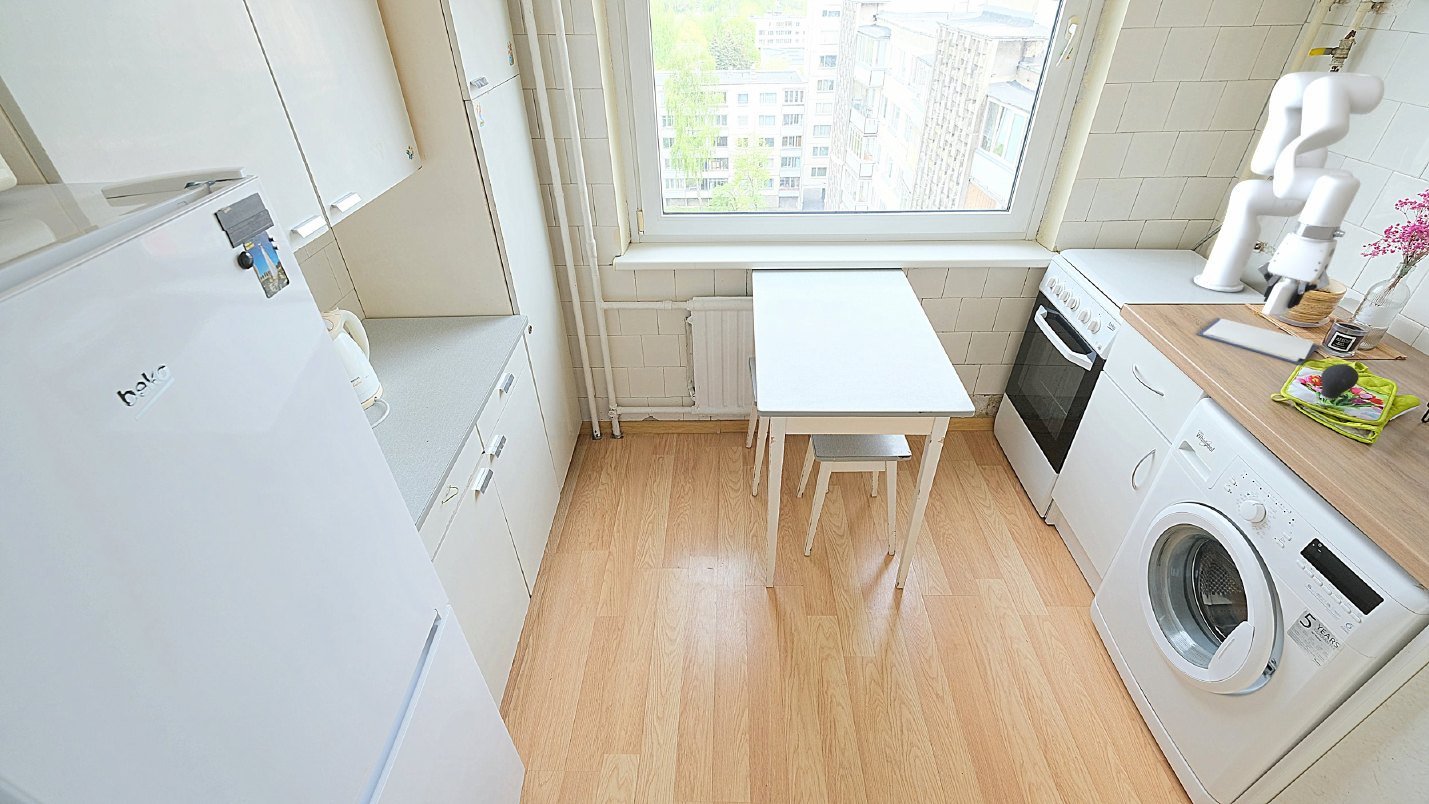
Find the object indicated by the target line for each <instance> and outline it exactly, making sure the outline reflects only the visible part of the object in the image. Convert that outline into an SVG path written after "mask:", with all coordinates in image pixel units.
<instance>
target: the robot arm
mask: <svg viewBox="0 0 1429 804" xmlns="http://www.w3.org/2000/svg"><path fill="white" fill-rule="evenodd" d="M1384 94H1385V83H1384V80H1383V79H1382V78H1381V77H1380V76H1377V75H1373V74H1368V73H1364V72H1350V71H1349V72H1347V71H1314V70H1313V71H1310V70H1309V71H1296V72H1291V73H1287V74H1285V75H1283V76H1282V77H1280V78H1279V79H1278V81H1276V84H1275V85H1274V87H1273V89H1272V91H1271V94H1270V99H1269V107H1268V119H1267V122H1266V124H1265V126H1264V130H1263V132H1262V135H1261V138H1260V139H1259V142H1258V144H1257V146H1256V149H1255V152H1254V154H1253V157H1252V159H1251V163H1250V170H1251V171H1252V173H1254V174H1257V175H1261V176H1271V177H1273V179H1259V178H1258V179H1256V178H1255V179H1247V180H1243V181H1240V182H1239V183H1237V184H1236V185H1235V186H1234V188H1233V189H1232V191H1231V194H1230V197H1229V201H1228V202H1229V204H1228V207H1227V209H1226V210H1227V211H1226V214H1225V217H1224V220H1223V223H1222V225H1221V228H1220V229H1219V230H1220V231H1219V232H1218V235H1217V238H1216V240H1215V242H1214V245H1213V247H1212V250H1211V252H1210V254H1209V257H1208V260H1207V262H1206V263H1205V264H1206V265H1205V267H1204V269H1203V272H1202V274H1198V275H1195V276H1194V278H1193V282H1194V283H1195V284H1196V285H1198V286H1200V287H1202V288H1205V289H1207V290H1212V291H1216V292H1217V291H1218V292H1224V293H1236V292H1241V291H1242V290H1243V289H1244V287H1245V286H1244V284H1243V282H1241V281H1240V280H1241V279H1242V276H1243V273H1244V272H1245V269H1246V267H1247V266H1248V262H1249V260H1250V258H1251V256H1252V253H1253V251H1254V249H1255V248H1256V244H1257V243H1258V240H1259V238H1260V235H1261V233H1262V227H1261V224H1260V222H1259V221H1258V218H1257V217H1258V216H1269V217H1281V218H1292V217H1295V216H1298V215H1299V214H1300V216H1299V218H1298V220H1297V222H1296V223H1295V225H1294V228H1293V230H1292V231H1290V232H1288V234H1286V236H1285V237H1284V239H1283V240H1282V242H1281V243H1280V245H1279V246H1278V248H1277V250H1276V251H1275V253H1274V255H1273V256H1272V258H1271V260H1268V261H1267V262H1265V263H1263V264H1262V265H1261V266H1259V267H1258V268H1257V270H1258V272H1259V273H1260V274H1261V275H1262V276H1263V278H1264V280H1265V281H1266V285H1267V288H1266V289H1265V292H1264V294H1263V298H1264V299H1263V302H1264V303H1266V302H1267V300H1268V298H1269V296H1270V294H1271V292H1272V290H1273V288H1274V286H1275V285H1276V284H1277V283H1279V282H1280V280H1281V279H1282V278H1283V277H1284V278H1285V277H1287V278H1291V279H1295V280H1297V281H1299V283H1298V284H1299V288H1298V290H1297V292H1295V293H1294V294H1293V296H1292V298H1291V300H1290V302H1289V304H1288V306H1287V308H1289V309H1290V310H1291V309H1293V308H1295V307H1297V306H1299V305H1300V304H1301V302H1302V300H1303V298H1304V296H1305V294H1306V293H1308V292H1311V291H1314V290H1317V289H1321V288H1327V287H1328V286H1331V285H1330V284H1331V283H1330V279H1329V277H1328V273H1327V271H1328V270H1329V267H1330V264H1331V261H1332V259H1333V257H1334V254H1335V251H1336V247H1337V245H1338V244H1337V243H1338V240H1337V239H1336V238H1343V237H1344V236H1345V234H1346V231H1345V230H1342V229H1341V225H1342V223H1343V221H1344V219H1345V217H1346V215H1347V213H1348V212H1349V209H1350V207H1351V205H1352V204H1353V202H1354V199H1355V197H1356V195H1357V193H1359V189H1360V187H1361V180H1360V179H1358V178H1356V177H1354V175H1353V173H1352V172H1351V171H1350V170H1346V169H1339V168H1325V166H1326V163H1327V161H1328V158H1329V157H1328V156H1329V148H1328V147H1330V146H1332V145H1335V144H1337V143H1339V142H1340V141H1342V140H1343V139H1344V138H1345V137H1346V136H1347V135H1348V133H1349V131H1350V118H1351V117H1350V116H1351V115H1359V116H1360V115H1361V116H1362V115H1367V114H1370V113H1371V112H1373V111H1374V110H1375V109H1376V108H1377V107H1378V106H1379V105H1380V103H1381V102H1382V100H1383V97H1384ZM1317 280H1319V282H1317Z"/></svg>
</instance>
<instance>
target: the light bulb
mask: <svg viewBox="0 0 1429 804" xmlns="http://www.w3.org/2000/svg"><path fill="white" fill-rule="evenodd" d="M1358 381H1359V373H1358V371H1357V369H1356V368H1355V367H1353V366H1351V365H1349V364H1345V363H1337V364H1333V365H1330V366H1328V367H1326V368H1325V369H1324V370H1323V372H1322V373H1321V376H1320V382H1321V391H1320V395H1319V397H1320V398H1324V399H1327V400H1332V399H1333V400H1334V399H1335V400H1336V399H1338V398H1339V397H1340V396H1341V395H1342V394H1344V393H1345V392H1347V391H1349V390H1351V389H1352V388H1354V387H1355V386H1356V384H1357V383H1358ZM1316 402H1317V403H1318V405H1319V406H1320V407H1322V408H1326V407H1331V406H1332V405H1325V404H1322V403H1320V402H1319V401H1318V400H1317V401H1316Z"/></svg>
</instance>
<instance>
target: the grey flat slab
mask: <svg viewBox="0 0 1429 804" xmlns="http://www.w3.org/2000/svg"><path fill="white" fill-rule="evenodd" d="M1196 334H1197V336H1200V337H1203V338H1207V339H1210V340H1213V341H1217V342H1219V343H1224V344H1226V345H1231V346H1234V347H1237V348H1240V349H1244V350H1247V351H1250V352H1254V353H1258V354H1261V355H1264V356H1267V357H1270V358H1271V357H1272V358H1275V359H1279V360H1282V361H1285V362H1288V363H1292V364H1295V365H1297V366H1298V365H1299V366H1301V365H1302V364H1304V362H1305V361H1306V360H1307V359H1308V358H1309V357H1310V356H1311V355H1312V354H1313V353H1314V352H1315V351H1316V350H1317V348H1318V347H1319V344H1315V343H1314V342H1315V341H1314V340H1311V339H1307V338H1304V337H1300V336H1294V335H1291V334H1286V333H1283V332H1279V331H1274V330H1270V329H1266V328H1263V327H1258V326H1254V325H1250V324H1246V323H1242V322H1238V321H1234V320H1229V319H1226V318H1217V319H1216V320H1214V321H1213V322H1211V323H1210V324H1209V325H1208V326H1206V327H1205V328H1204V329H1202V330H1201V331H1200V332H1198V333H1196ZM1301 363H1302V364H1301Z"/></svg>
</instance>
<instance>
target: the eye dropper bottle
mask: <svg viewBox="0 0 1429 804" xmlns="http://www.w3.org/2000/svg"><path fill="white" fill-rule="evenodd" d="M1298 288H1299V283H1298V280H1295V279H1291V278H1287V277H1284V280H1281V281H1278V283H1277V284H1276V285H1275V286H1274V288H1273V290H1272V292H1271V294H1270V296H1269V298H1268V300H1267V302H1265V305H1264V307H1263V308H1262V311H1261V313H1262V314H1265V315H1266V316H1269V317H1284V316H1286V315H1289V312H1290V310H1291V309H1289V308H1287V306H1288V304H1289V302H1290V300H1291V298H1292V296H1293V294H1294V293H1295V292H1297V290H1298Z"/></svg>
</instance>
